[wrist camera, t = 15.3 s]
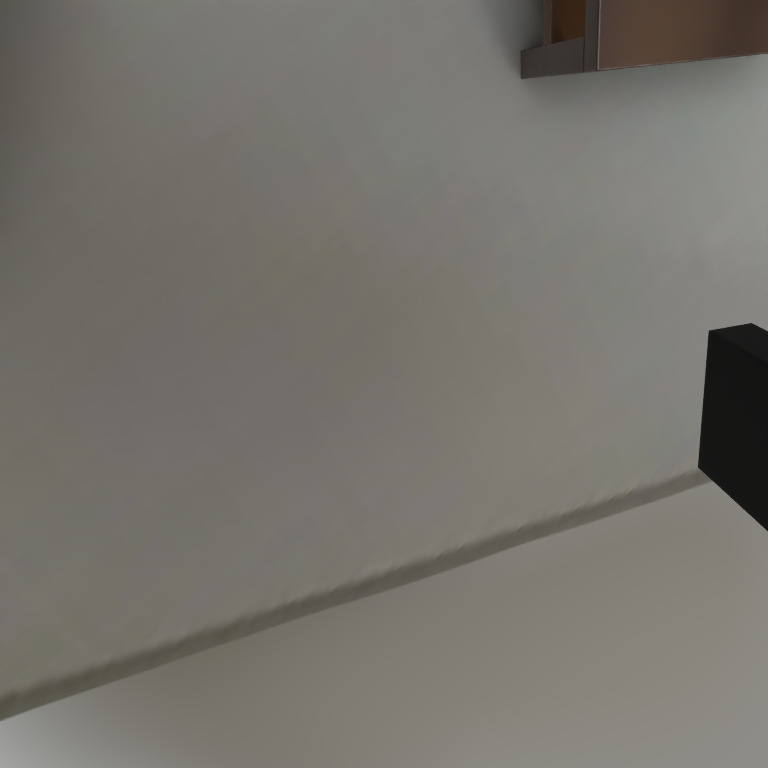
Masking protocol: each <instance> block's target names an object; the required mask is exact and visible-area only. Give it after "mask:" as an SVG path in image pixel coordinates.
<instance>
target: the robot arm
mask: <svg viewBox="0 0 768 768" xmlns="http://www.w3.org/2000/svg"><path fill="white" fill-rule="evenodd" d="M698 468H699V469H700V470H702V471H703V472H704V473H705V474H706V475H707V476H708V477H709V478H710V479H711V480H712V481H714V482H715V483H716V484H717V485H718V486H719V487H720V488H721V489H722V490H723V491H724V492H726V493H727V494H728V495H729V496H730V497H731V498H732V499H733V500H734V501H735V502H736V503H738V504H739V505H740V506H741V507H742V508H743V509H744V510H745V511H746V512H747V513H749V514H750V515H751V516H752V517H753V518H754V519H755V520H756V521H757V522H758V523H759V524H760V525H762V526H763V527H764V528H765V529H766V530H767V531H768V331H766V330H764V329H762V328H760V327H758V326H756V325H754V324H752V323H750V324H744V325H738V326H733V327H727V328H721V329H716V330H710V331H709V335H708V348H707V360H706V373H705V385H704V398H703V411H702V423H701V436H700V448H699V461H698Z"/></svg>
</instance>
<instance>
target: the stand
mask: <svg viewBox="0 0 768 768" xmlns="http://www.w3.org/2000/svg"><path fill="white" fill-rule="evenodd" d="M759 54H768V0H543V46H541V47H536V48H532V49H527V50H523V51H521V79H526V78H536V77H545V76H555V75H565V74H575V73H584V72H594V71H604V70H614V69H623V68H633V67H643V66H652V65H662V64H672V63H681V62H691V61H701V60H710V59H720V58H730V57H740V56H749V55H759Z"/></svg>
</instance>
